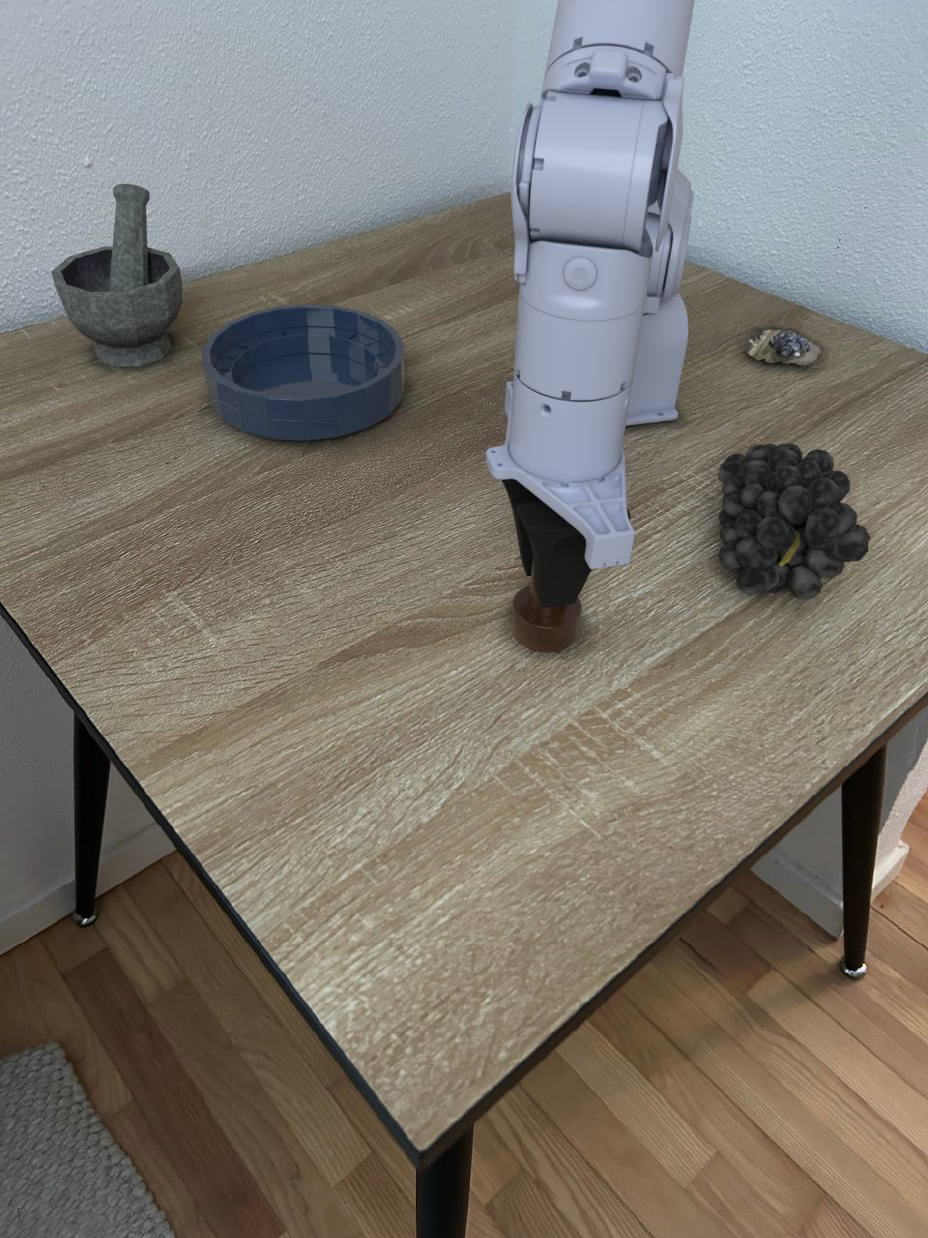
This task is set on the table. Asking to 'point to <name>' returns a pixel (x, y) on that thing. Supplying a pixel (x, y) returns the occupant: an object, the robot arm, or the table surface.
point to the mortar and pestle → (123, 289)
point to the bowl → (304, 371)
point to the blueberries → (783, 348)
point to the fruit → (786, 520)
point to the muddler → (543, 621)
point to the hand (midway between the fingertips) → (549, 585)
